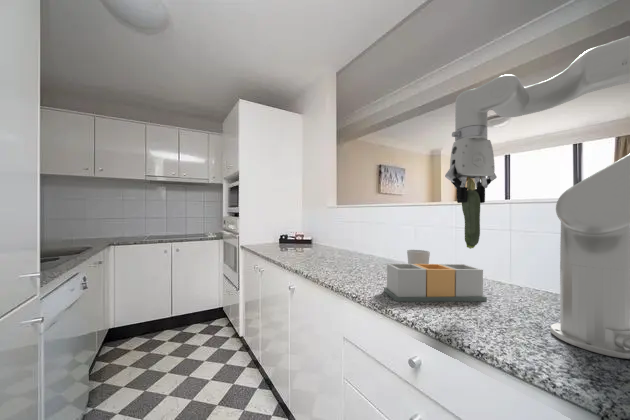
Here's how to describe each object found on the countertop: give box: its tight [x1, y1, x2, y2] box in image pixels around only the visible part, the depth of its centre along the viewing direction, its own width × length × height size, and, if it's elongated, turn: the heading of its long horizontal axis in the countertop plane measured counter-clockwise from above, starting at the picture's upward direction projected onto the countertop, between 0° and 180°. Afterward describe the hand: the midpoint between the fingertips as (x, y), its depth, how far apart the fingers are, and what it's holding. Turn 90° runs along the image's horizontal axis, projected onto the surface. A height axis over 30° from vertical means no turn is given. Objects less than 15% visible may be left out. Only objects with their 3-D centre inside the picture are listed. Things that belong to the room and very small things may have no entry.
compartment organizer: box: [383, 263, 488, 303], centre depth 77 cm, size 10×28×9 cm, turn 95°
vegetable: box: [461, 177, 481, 249], centre depth 67 cm, size 4×4×20 cm
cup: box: [406, 249, 431, 264], centre depth 92 cm, size 8×8×12 cm
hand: (470, 202), depth 67 cm, fingers closed on vegetable, 4 cm apart
